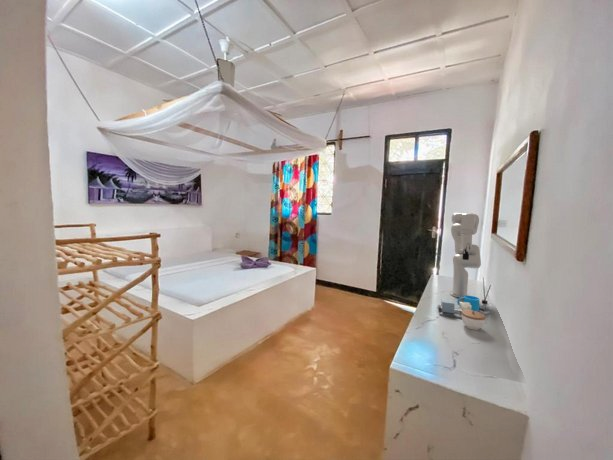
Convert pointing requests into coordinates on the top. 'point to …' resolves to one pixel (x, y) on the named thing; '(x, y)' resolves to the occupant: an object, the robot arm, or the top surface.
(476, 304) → the mug
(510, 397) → the top surface
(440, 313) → the rail plate
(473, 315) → the lidded jar
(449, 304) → the block
